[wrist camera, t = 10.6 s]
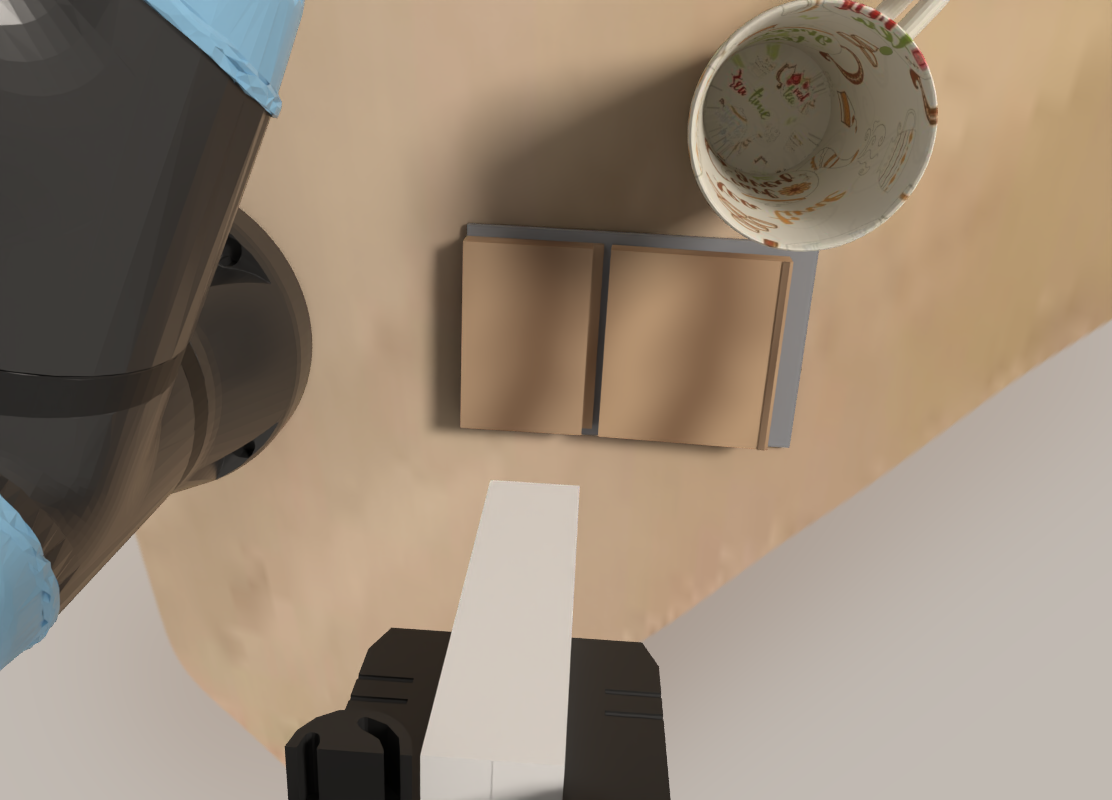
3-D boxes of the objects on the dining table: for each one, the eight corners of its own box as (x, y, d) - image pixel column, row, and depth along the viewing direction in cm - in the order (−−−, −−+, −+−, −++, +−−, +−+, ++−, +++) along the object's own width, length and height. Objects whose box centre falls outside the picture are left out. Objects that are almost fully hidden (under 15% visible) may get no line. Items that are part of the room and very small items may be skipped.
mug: (630, 117, 42) (638, 140, 33) (846, -126, 38) (924, -178, 29) (762, 243, 44) (806, 300, 34) (981, 23, 40) (1097, 19, 31)
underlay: (464, 423, 47) (463, 426, 47) (468, 223, 44) (467, 224, 43) (787, 444, 47) (789, 447, 47) (817, 243, 43) (819, 245, 43)
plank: (599, 427, 47) (597, 437, 45) (612, 244, 43) (610, 250, 42) (764, 440, 46) (767, 450, 45) (789, 256, 43) (793, 262, 42)
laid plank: (464, 417, 47) (460, 427, 46) (466, 235, 44) (463, 241, 42) (591, 425, 47) (591, 436, 46) (604, 243, 44) (604, 249, 42)
